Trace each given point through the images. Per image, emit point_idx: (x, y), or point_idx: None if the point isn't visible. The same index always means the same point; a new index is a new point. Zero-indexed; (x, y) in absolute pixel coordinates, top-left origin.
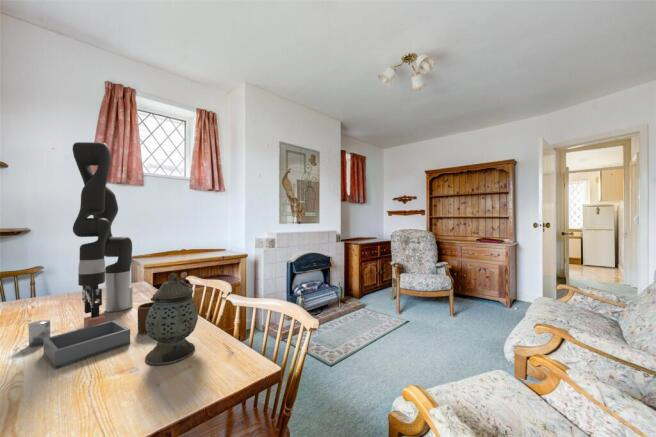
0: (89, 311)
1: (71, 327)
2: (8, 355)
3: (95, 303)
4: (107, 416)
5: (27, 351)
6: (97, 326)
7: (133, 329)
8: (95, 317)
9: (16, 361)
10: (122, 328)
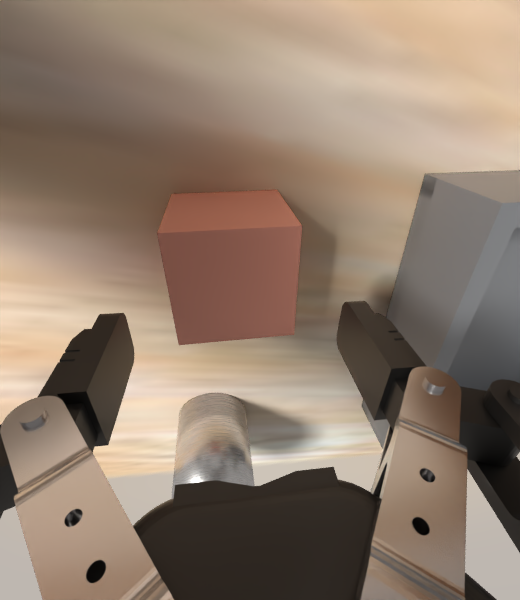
0: (124, 335)
1: (40, 323)
2: (257, 460)
3: (515, 457)
4: None
5: (271, 434)
6: (468, 308)
7: (491, 32)
8: (248, 288)
9: (336, 445)
10: None
